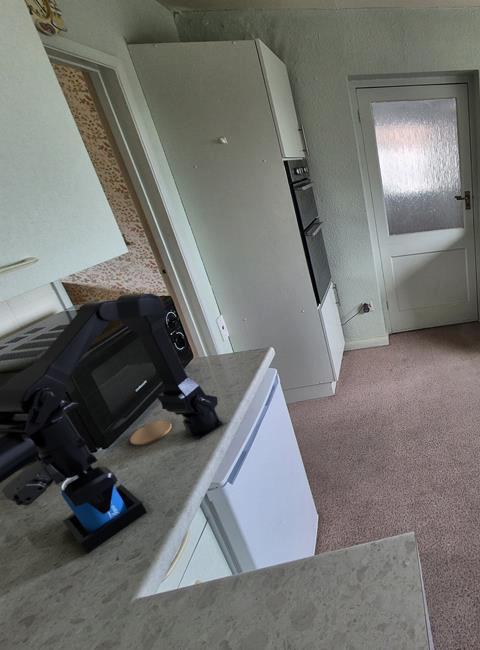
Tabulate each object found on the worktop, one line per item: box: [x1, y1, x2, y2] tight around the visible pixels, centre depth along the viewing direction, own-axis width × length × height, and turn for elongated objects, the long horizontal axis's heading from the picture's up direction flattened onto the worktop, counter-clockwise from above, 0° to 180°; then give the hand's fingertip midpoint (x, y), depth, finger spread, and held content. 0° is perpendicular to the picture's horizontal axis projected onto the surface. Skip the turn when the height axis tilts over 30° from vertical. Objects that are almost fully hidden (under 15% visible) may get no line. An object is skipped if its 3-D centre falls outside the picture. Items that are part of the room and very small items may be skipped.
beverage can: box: [60, 466, 128, 534], centre depth 75 cm, size 6×6×12 cm
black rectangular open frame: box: [62, 484, 148, 554], centre depth 77 cm, size 10×10×3 cm
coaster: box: [129, 419, 173, 447], centre depth 102 cm, size 9×9×1 cm
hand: (97, 502), depth 75 cm, fingers open, 9 cm apart
